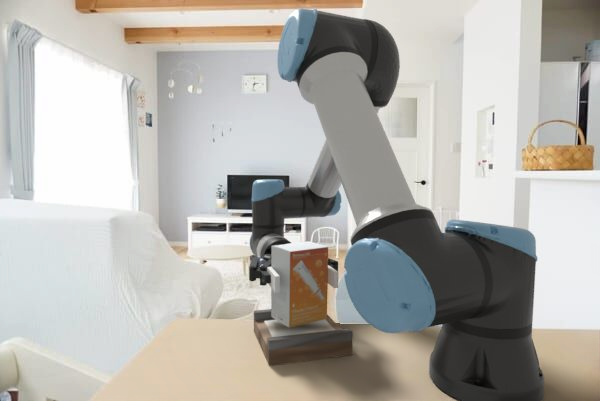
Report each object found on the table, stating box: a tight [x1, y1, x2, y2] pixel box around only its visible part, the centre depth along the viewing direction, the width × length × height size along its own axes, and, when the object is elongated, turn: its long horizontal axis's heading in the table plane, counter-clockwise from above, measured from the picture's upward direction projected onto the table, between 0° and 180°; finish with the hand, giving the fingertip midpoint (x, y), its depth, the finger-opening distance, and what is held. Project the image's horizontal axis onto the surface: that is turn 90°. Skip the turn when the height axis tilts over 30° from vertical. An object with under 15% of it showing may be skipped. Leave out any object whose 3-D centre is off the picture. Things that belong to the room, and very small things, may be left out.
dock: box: [253, 308, 354, 366], centre depth 74 cm, size 14×14×4 cm
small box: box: [270, 240, 329, 328], centre depth 74 cm, size 8×6×13 cm
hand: (307, 282), depth 69 cm, fingers closed on small box, 9 cm apart
